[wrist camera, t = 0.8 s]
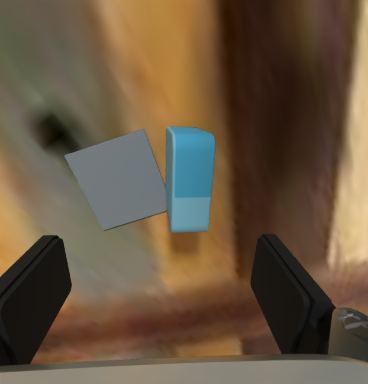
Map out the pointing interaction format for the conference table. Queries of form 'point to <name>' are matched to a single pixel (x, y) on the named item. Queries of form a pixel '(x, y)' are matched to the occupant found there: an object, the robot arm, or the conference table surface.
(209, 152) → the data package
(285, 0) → the conference table surface
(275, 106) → the conference table surface
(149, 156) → the felt pad
